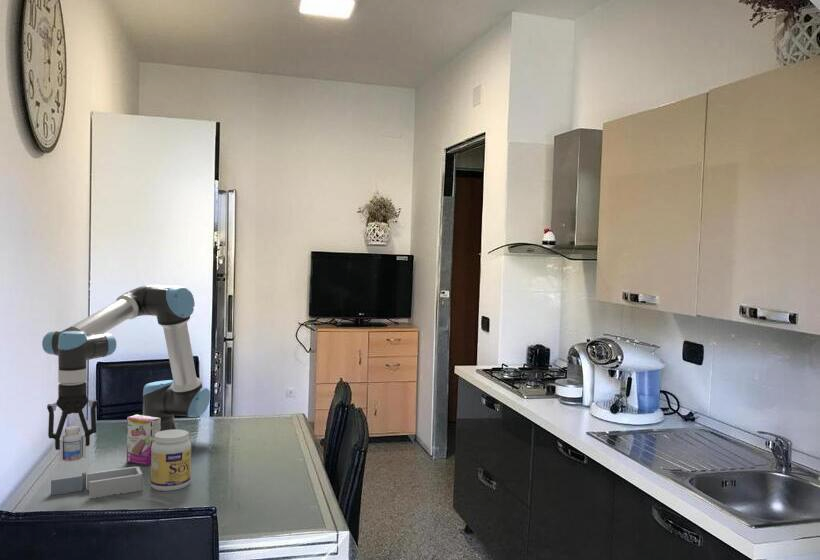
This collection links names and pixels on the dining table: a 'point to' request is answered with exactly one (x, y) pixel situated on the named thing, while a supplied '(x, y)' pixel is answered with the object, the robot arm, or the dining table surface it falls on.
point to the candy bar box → (141, 438)
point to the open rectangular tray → (114, 481)
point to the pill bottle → (72, 444)
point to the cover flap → (68, 484)
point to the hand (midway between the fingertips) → (72, 458)
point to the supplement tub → (170, 460)
